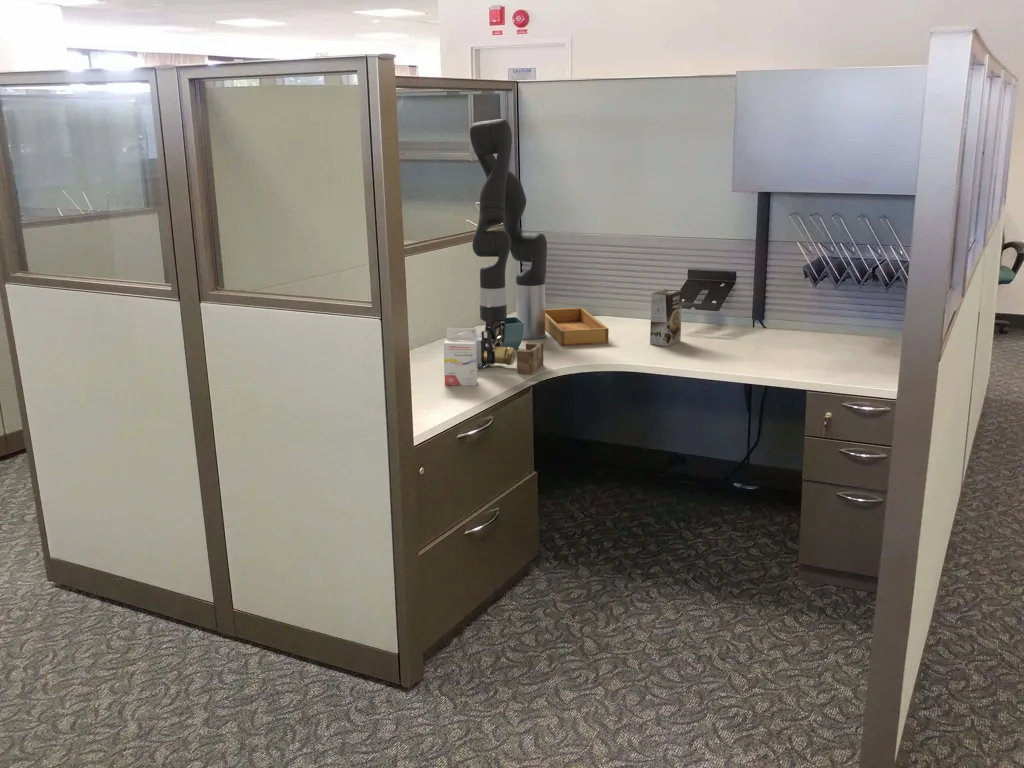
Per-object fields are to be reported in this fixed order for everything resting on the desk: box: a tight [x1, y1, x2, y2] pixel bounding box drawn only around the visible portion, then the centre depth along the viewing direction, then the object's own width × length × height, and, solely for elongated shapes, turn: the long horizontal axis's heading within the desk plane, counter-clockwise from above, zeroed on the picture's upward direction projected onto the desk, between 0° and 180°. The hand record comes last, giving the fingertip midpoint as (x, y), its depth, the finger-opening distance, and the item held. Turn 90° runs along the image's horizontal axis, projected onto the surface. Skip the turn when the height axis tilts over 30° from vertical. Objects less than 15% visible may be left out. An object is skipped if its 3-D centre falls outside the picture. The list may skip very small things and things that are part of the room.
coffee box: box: [649, 288, 684, 347], centre depth 283 cm, size 9×6×16 cm
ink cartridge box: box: [443, 327, 478, 387], centre depth 243 cm, size 9×5×15 cm, turn 86°
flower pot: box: [499, 316, 524, 351], centre depth 279 cm, size 9×9×9 cm
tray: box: [545, 307, 610, 347], centre depth 298 cm, size 31×15×6 cm, turn 11°
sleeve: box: [460, 332, 488, 370], centre depth 262 cm, size 8×8×8 cm
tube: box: [482, 345, 516, 366], centre depth 261 cm, size 16×5×5 cm, turn 71°
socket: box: [516, 341, 544, 376], centre depth 257 cm, size 10×4×6 cm, turn 161°
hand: (494, 361), depth 260 cm, fingers closed on tube, 4 cm apart
